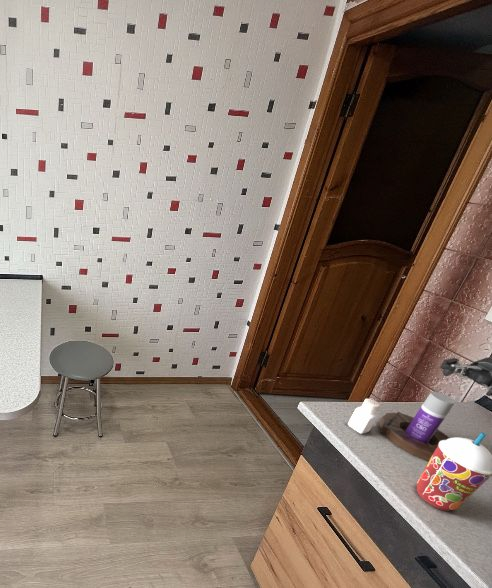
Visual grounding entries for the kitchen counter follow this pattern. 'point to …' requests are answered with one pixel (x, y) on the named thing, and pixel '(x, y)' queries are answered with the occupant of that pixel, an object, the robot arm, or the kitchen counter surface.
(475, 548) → the kitchen counter surface
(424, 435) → the container
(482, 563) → the kitchen counter surface
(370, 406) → the pepper shaker
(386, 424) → the collar
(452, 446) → the smoothie
